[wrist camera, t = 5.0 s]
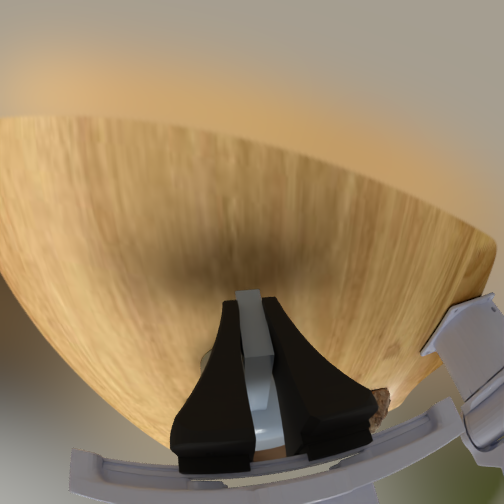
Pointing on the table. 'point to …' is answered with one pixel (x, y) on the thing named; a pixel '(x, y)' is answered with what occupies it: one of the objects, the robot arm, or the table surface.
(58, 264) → the table surface
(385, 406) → the rock
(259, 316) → the finned dome knob
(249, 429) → the robot arm
